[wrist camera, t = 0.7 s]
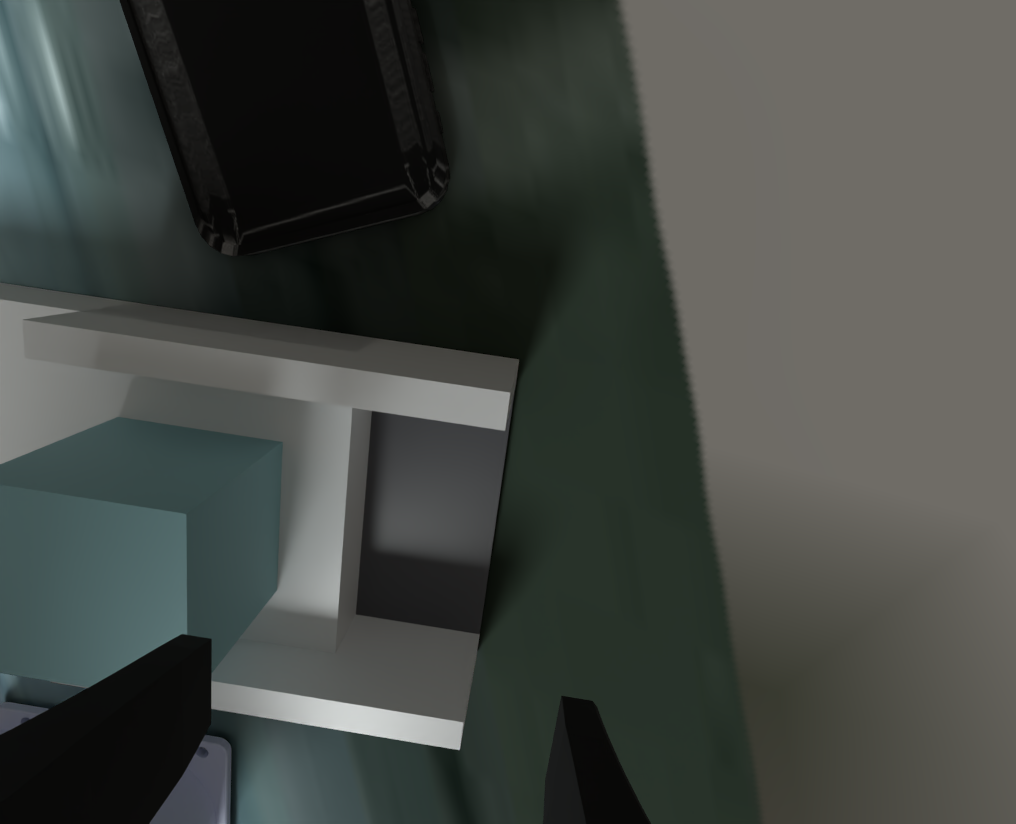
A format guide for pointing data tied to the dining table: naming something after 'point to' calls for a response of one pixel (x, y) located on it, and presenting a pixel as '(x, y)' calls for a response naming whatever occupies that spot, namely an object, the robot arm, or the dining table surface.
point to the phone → (292, 115)
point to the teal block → (133, 546)
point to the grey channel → (305, 489)
